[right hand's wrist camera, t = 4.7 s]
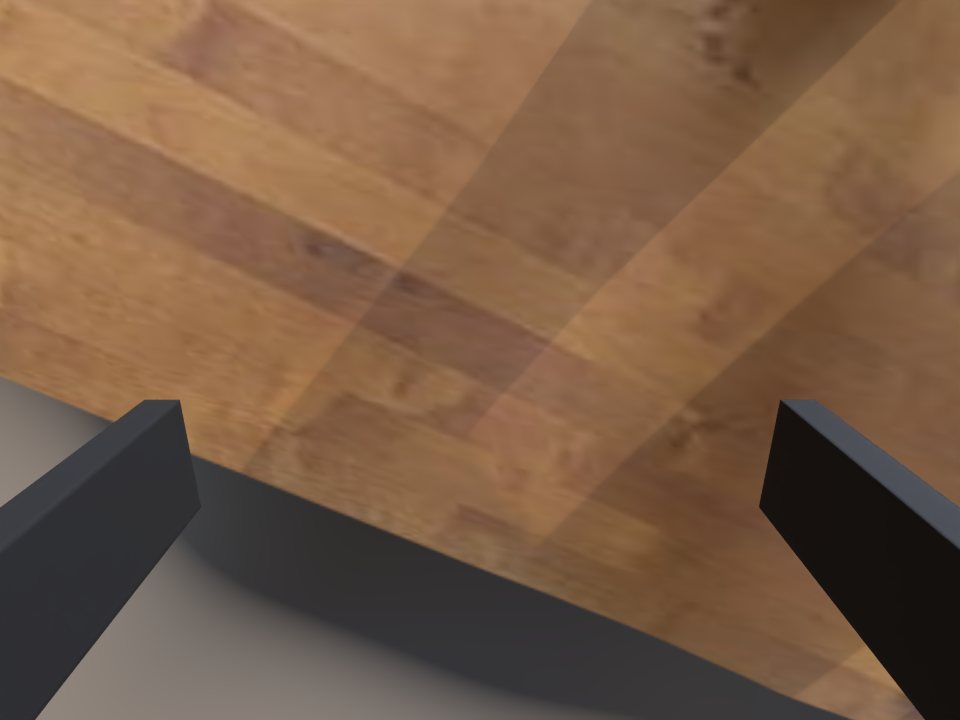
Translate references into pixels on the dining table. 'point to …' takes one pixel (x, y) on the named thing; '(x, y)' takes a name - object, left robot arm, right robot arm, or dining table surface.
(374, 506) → the dining table surface
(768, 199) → the dining table surface
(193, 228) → the dining table surface
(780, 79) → the dining table surface
